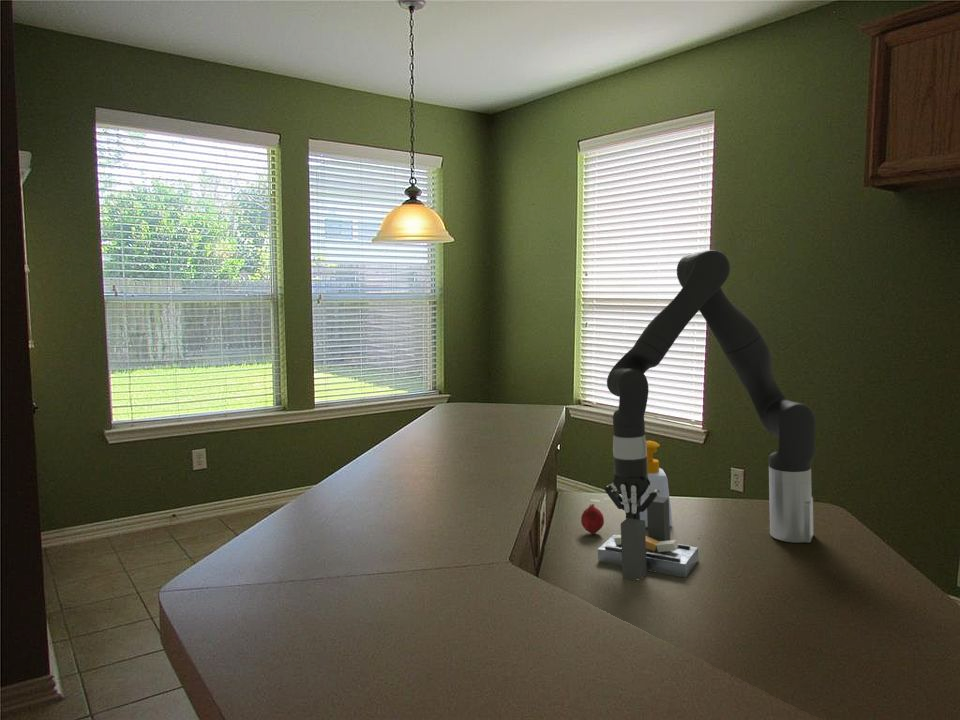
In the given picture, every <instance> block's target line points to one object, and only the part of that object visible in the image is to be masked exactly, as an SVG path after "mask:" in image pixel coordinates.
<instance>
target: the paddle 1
mask: <svg viewBox="0 0 960 720" xmlns="http://www.w3.org/2000/svg"><path fill="white" fill-rule="evenodd" d="M616 535H617V536H616V537H615V538H614V540H615V544H616V545H621V535H618V534H616Z"/></svg>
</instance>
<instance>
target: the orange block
mask: <svg viewBox="0 0 960 720" xmlns="http://www.w3.org/2000/svg"><path fill="white" fill-rule="evenodd" d="M645 537H646V548H648V549H650V550H652V551H655V550H656V549H657V546H656V545H657V544H658V543H659V541H657V540H655V539H652V538H650V537H648V535H645Z"/></svg>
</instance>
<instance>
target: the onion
mask: <svg viewBox="0 0 960 720" xmlns="http://www.w3.org/2000/svg"><path fill="white" fill-rule="evenodd" d="M604 521H605V518H604V514H603V513H602V511H600V509H598V508H597V507H595V504H594V503H590V504H589V506H588V507H587V508H586V509H584V510H583V512H582V514H581V518H580V523H581V525H582V527H583V529H585V531H586V532H588V533H589V534H591V535H594V534H597V532H599V531H600V530H601V529H602V528H603V526H604V523H605V522H604Z"/></svg>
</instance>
